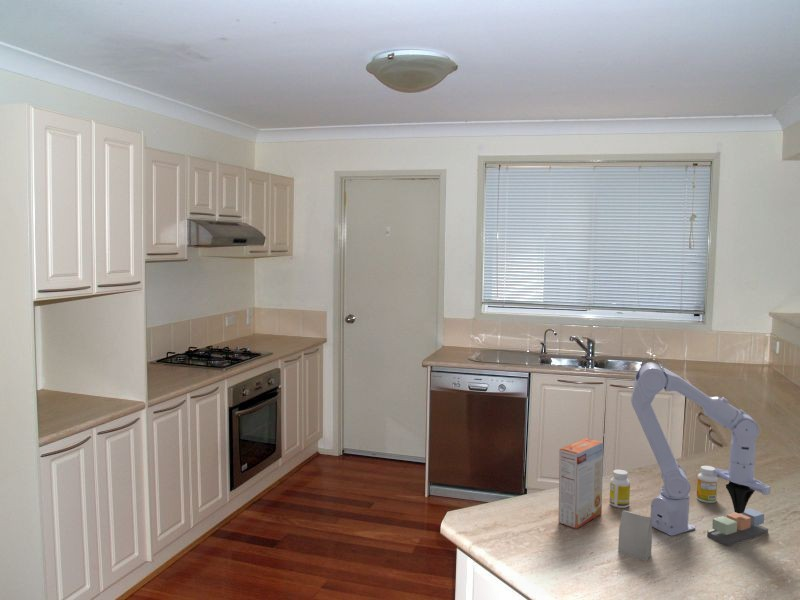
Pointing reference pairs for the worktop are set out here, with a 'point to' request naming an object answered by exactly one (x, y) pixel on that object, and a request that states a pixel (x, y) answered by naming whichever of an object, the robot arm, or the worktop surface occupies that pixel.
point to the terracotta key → (740, 520)
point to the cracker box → (580, 482)
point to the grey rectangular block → (635, 535)
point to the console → (737, 535)
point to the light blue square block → (754, 516)
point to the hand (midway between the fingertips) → (739, 512)
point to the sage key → (724, 525)
